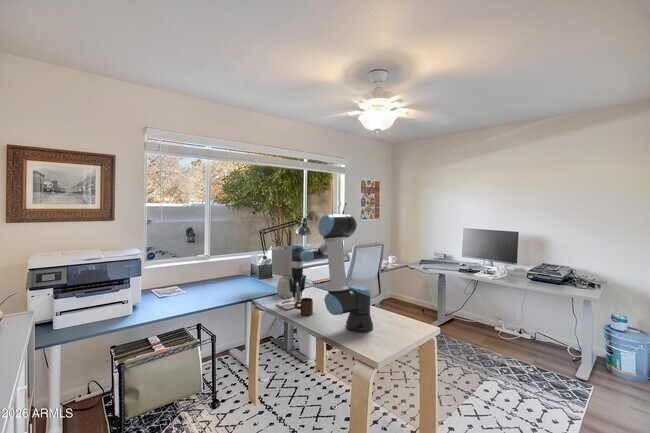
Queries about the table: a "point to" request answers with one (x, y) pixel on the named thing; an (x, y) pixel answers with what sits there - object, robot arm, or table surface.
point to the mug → (305, 306)
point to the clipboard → (288, 305)
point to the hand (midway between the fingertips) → (297, 301)
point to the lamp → (282, 268)
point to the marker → (297, 292)
